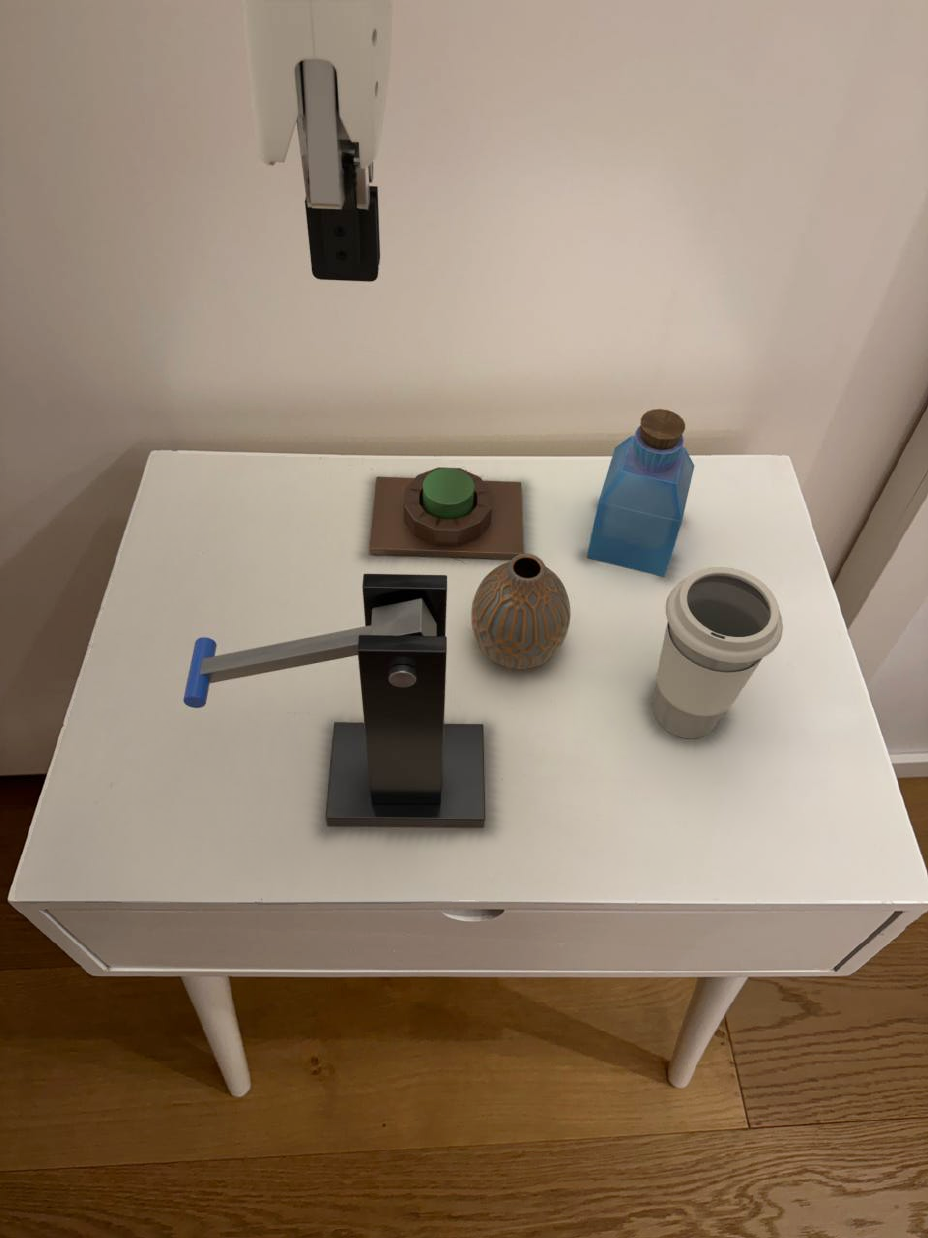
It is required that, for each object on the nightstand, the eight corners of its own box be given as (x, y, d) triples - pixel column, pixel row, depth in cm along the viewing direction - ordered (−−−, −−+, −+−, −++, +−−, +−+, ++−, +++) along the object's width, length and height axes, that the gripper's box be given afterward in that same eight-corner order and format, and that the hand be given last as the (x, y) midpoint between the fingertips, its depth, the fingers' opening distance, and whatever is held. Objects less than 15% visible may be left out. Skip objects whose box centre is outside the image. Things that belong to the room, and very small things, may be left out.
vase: (484, 693, 67) (491, 617, 60) (458, 617, 71) (462, 537, 64) (577, 673, 68) (594, 596, 61) (546, 600, 72) (559, 520, 65)
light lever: (195, 715, 53) (172, 693, 51) (207, 656, 55) (185, 632, 53) (436, 671, 49) (421, 645, 47) (437, 610, 52) (422, 583, 50)
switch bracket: (326, 826, 60) (298, 666, 46) (335, 730, 65) (311, 557, 50) (484, 828, 61) (503, 669, 47) (482, 732, 65) (499, 561, 51)
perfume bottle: (586, 557, 75) (610, 442, 65) (602, 503, 79) (627, 387, 69) (664, 576, 74) (700, 462, 64) (677, 521, 78) (712, 405, 68)
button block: (369, 554, 74) (367, 532, 72) (376, 482, 79) (375, 459, 77) (522, 560, 75) (525, 538, 73) (520, 487, 79) (523, 465, 77)
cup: (622, 728, 66) (656, 622, 56) (650, 656, 69) (687, 546, 60) (723, 767, 64) (775, 665, 54) (746, 692, 68) (799, 584, 58)
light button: (421, 519, 74) (421, 503, 73) (423, 482, 76) (423, 466, 75) (473, 520, 74) (474, 504, 73) (473, 484, 76) (474, 468, 75)
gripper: (238, -268, 37) (289, 189, 52) (157, -152, 28) (247, 363, 42) (431, -258, 37) (428, 195, 52) (413, -139, 28) (416, 370, 43)
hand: (346, 270), depth 47 cm, fingers closed
